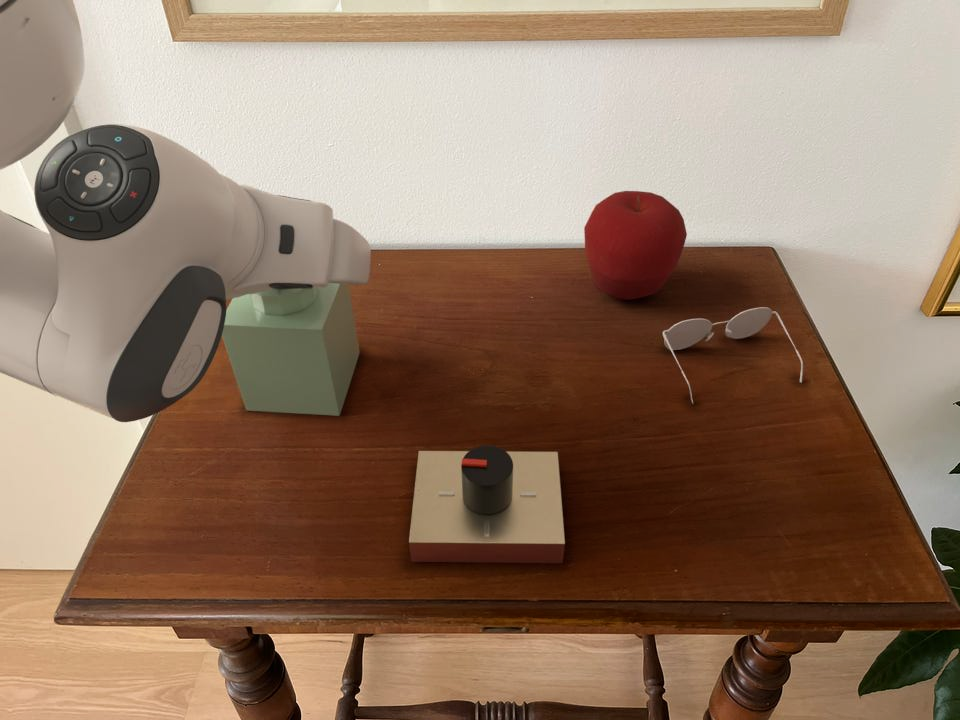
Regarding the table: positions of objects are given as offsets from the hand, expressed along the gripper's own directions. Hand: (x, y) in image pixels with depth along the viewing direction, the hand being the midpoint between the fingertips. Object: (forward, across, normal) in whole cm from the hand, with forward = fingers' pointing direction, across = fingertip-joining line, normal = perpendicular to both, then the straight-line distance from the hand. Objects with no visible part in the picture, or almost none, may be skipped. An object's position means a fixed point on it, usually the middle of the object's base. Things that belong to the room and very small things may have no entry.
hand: (280, 269), depth 70 cm
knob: (-3, +21, -20) cm, 29 cm away
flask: (+10, 0, -10) cm, 15 cm away
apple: (+24, +36, +3) cm, 43 cm away
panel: (-1, +21, -22) cm, 30 cm away
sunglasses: (+14, +46, -7) cm, 49 cm away
